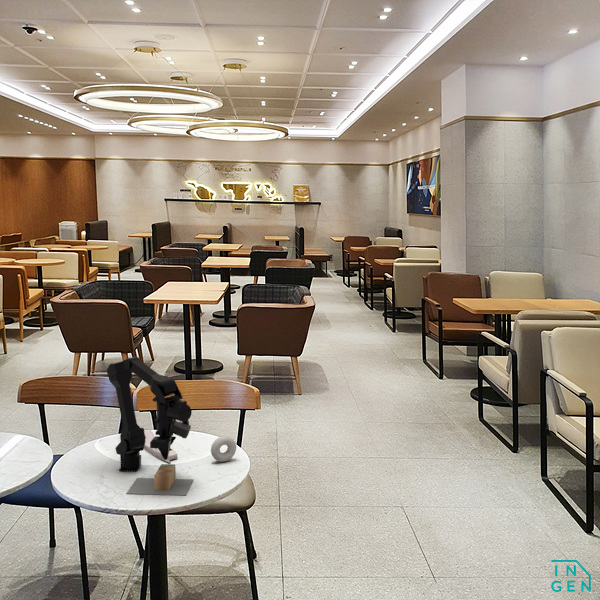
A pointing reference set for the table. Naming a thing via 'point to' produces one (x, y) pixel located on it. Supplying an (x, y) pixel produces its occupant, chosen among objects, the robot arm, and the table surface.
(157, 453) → the mobile phone
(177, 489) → the charcoal mat
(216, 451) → the donut
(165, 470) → the oak block
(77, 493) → the table surface
